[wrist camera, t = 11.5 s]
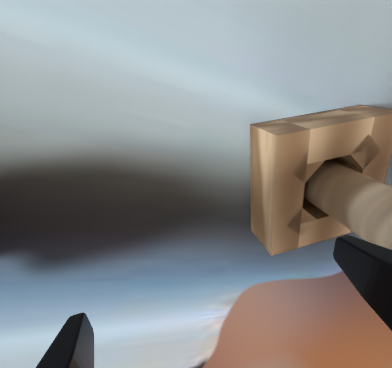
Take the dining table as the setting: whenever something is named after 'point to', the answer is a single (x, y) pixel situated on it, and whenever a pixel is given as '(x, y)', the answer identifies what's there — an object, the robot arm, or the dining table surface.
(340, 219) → the dowel pin
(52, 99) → the dining table surface
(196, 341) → the dining table surface
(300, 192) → the socket block
